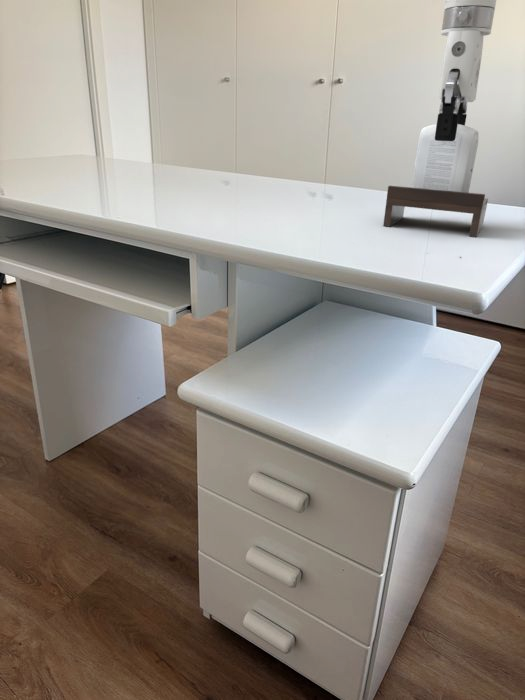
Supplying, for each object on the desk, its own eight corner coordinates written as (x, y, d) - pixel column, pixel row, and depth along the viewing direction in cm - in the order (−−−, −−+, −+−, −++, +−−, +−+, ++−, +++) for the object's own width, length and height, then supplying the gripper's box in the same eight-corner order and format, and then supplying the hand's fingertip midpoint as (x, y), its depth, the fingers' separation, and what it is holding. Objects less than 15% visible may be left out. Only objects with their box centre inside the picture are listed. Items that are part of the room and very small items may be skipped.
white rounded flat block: (470, 200, 95) (485, 124, 90) (462, 203, 92) (476, 124, 87) (416, 193, 100) (426, 122, 95) (406, 195, 97) (416, 122, 92)
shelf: (397, 216, 106) (402, 179, 103) (482, 226, 100) (490, 187, 97) (383, 226, 97) (388, 186, 94) (476, 237, 91) (484, 194, 88)
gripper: (487, 14, 76) (465, 143, 83) (496, 29, 90) (477, 138, 98) (433, 17, 79) (416, 140, 86) (450, 31, 93) (435, 136, 101)
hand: (449, 139), depth 92 cm, fingers open, 9 cm apart
